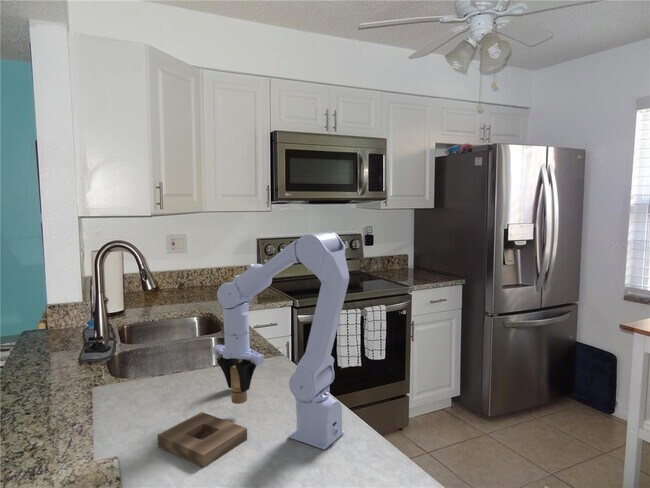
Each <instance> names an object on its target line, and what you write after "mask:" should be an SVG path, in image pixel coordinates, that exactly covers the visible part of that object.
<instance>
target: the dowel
mask: <svg viewBox="0 0 650 488" xmlns="http://www.w3.org/2000/svg"><path fill="white" fill-rule="evenodd" d="M230 373H231V388H230V394H231V396H230V397H231V403H232V404H236V405H240V404H244V403H247V401H248V390H247V391H245V392H242V391H241V388H240V378H239V374H238V371H237V368H236V366H232V367H231V368H230Z"/></svg>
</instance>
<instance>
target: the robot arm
mask: <svg viewBox="0 0 650 488" xmlns="http://www.w3.org/2000/svg"><path fill="white" fill-rule="evenodd" d="M346 247H347V246H346V245H345V243H344V241H343V239H341V237H340V236H339V235H338V234H337V233H336V232H333V231H329V230H328V231H323V232H319V233H313V234H311V233H309V234H307V233H306V234H304V235H301V236H300V238H299V239H295V240H293V241H291V242H290V243H289V244H288V245H287V246H286V247H285V248H283V249H282V250H281V251H279V252H278V253H277V254H275V256H273V257H272V258H270V260H268V261H267V262H266V263H264V264H261V263H252V264H249V265H247V266H246V269H247V270H245V271H244V272H242V273H240V274H238V275H235V276H233V280H232V281H231V282H224V283H222V284H221V285H220V286H219V287H218V290H217V292H216V293H217V294H216V296H217V301H218V303H219V304H220V306H221V307H222V310H223V311H222V312H223V333H224V335H223V336H224V344H216V345H214V346H212V354H213V356H214V355H215V356H217V355H220V356H221V357H220V358H218V359H217V361H216V362H217V365H218V366H219V367H220V369H221V371H222V372H223V375H224V378H225V380H226V385H227V386H228V389H231V373H230V368H231V367H232V366H236V368H237V371H238V374H239V378H240V388H241V391H242V392H245V391H247V392H248V391H249V390H250V387H251V383H252V378H253V375H254V372H255V370H256V368H257V366H259V365H261V364H264V363H265V356H264V354H262V353H259V352H257V351H256V350H254V349H252V348H251V347H250V343H251V342H250V325H249V324H250V322H249V309H251V308H250V304H251V303H250V302H251V301H252V299H253V297H255V296H256V295H258V294H260V293H261V292H262V291H264V290H265V289H267V288H269V287H270V286H271V284H272V283H273V282H272V281H273V277H275V276H276V275H278V274H280V273H281V272H283V271H284V270H286V269H287V268H289V267H292V266H293V265H294V264H299V263H300V264H303V266H305V267H306V268H307V269H308V270H309V271H310V272H311V273H313V274H314V275H315V276H316V277H317V278H318V280H319V282H320V283H321V284H320V288H319V293H318V298H317V302H316V306H315V309H314V315H313V319H312V322H311V327H310V332H309V335H308V340H307V343H306V349H305V352H304V354H303V355H302V357H301V358H300V360H299V362H298V363H297V366H296V370H295V371H294V372H293V374H291V376H290V378H289V384H288V386H289V389H290V392H291V394H292V395H293V396H294V399H295V405H296V407H295V408H296V429H294V430H293V431H292V432H291V433H289V434H288V438H290V439H293V440H296V441H299V442H302V443H304V444H307V445H308V446H309V445H310V446H313V447H315V448H319V449H321V450H326V449H327V448H329V447H330V445H332V444H333V443H334V442H335V441H337V440H338V439H339V438H340V437H341V436H342V435H344V434H345V431H344V430H343V417H342V416H343V415H342V414H343V412H342V411H343V409H342V408H343V407H342V405H341V402H340V401H338V400H337V399H335V398H333V397H332V396H331V395H330V385H331V384H332V383H333V382H334V380H335V370H334V369H335V368H334V363H335V358H334V357H333V356H332V355H331V354H332V352H333V351H332V350H333V347H334V344H335V343H334V342H335V339H336V336H337V331H338V327H339V322H340V318H341V315H342V311H343V306H344V302H345V299H346V295H347V290H348V287H349V283H350V273H349V268H348V263H347V258H346V249H347V248H346ZM239 359H240V360H242V362H240V363H238V362H239Z"/></svg>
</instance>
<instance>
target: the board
mask: <svg viewBox="0 0 650 488" xmlns="http://www.w3.org/2000/svg"><path fill="white" fill-rule="evenodd" d="M204 435H205V436H206V437H205V438H203V439H200V437H202V436H204ZM156 440H157V447H159V448H160V449H162V450H165V451H168V452H169V453H171V454H174V455H176V456H178V457H180V458H182V459H185V460H187V461H189V462H191V463H193V464H196V465H197V466H199V467H203V468H205V467H207V466H208V465H210V464H212V463H213V462H214V461H217V460H218V459H219V458H221V457H222V456H224V455H226V454H227V453H228V452H230V451H231V450H234V449H235V448H236V447H238V446H240V445H241V444H242V443H244V442H246V441H247V440H248V428H247V427H245V426H242V425H239V424H237V423H234V422H231V421H228V420H225V419H223V418H220V417H217V416H214V415H212V414H208V413H206V412H203V411H201V412H199V413H197V414H195V415H193V416H192V417H189V418H187V419H186V420H184V421H182V422H180V423H178V424H175V425H174V426H172V427H170V428H168V429H166V430H164V431H162V432H160V433H158V434H157V439H156Z"/></svg>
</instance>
